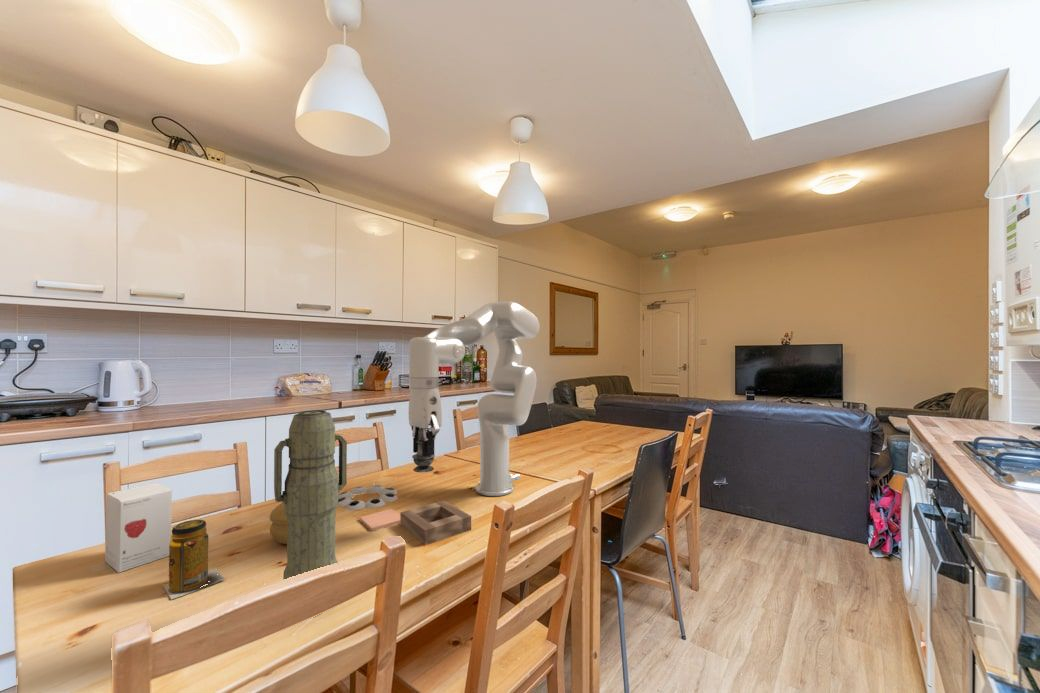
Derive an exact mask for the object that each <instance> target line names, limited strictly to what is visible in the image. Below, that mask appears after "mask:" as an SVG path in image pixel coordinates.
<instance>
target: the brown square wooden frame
mask: <svg viewBox="0 0 1040 693" xmlns="http://www.w3.org/2000/svg"><path fill="white" fill-rule="evenodd" d="M399 515H400V523H399V524H400V527H402V528H403V529H404V530H405V531H406V532H408V533H409V534H411V535H412V536H413V537H415V538H416V539H417V540H418V541H419V542H421V543H422V544H423V545H424V546H426V545H430V544H432V543H436V542H439V541H441V540H444V539H445V540H446V539H448V538H450V537H453V536H457V535H460V534H463V533H466V532H468V531H472V515H470V514H468V513H467V512H465V511H463V510H461V509H459V508H458V507H456V506H455V505H453V504H450V503H449V502H447V501H445V500H441V501H438V502H434V503H430V504H427V505H422V506H419V507H415V508H411V509H408V510H404V511H401V512H400V514H399Z"/></svg>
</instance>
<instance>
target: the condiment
mask: <svg viewBox="0 0 1040 693" xmlns="http://www.w3.org/2000/svg"><path fill="white" fill-rule="evenodd" d="M168 566H169V567H168V583H166V584H162V585H163V587H164V590H165V591H166V593H167V596H168V597H169V598H170V600H173V599H177V598H179V597H182V596H185V595H188V594H192V593H194V592H197V591H199V590H201V589H203V588H205V587H207V588H208V587H209V586H212V585H215V584H218V583H220V582H223V581H225V580H226V578H224V576H223V575H222V574H221V573H220V572H219V571H218V569H217V568H216V567H212V568H210V569H209V533H207V522H206V520H203V519H191V520H186V521H183V522H179V523H177V524H176V525H174V526H173V527H172V528H171V542H170V545H169V556H168ZM217 574H218V575H217ZM208 581H210V582H208ZM205 584H208V585H206V586H203V585H205ZM201 586H203V587H201ZM200 587H201V588H200Z"/></svg>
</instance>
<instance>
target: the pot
mask: <svg viewBox="0 0 1040 693" xmlns="http://www.w3.org/2000/svg"><path fill="white" fill-rule="evenodd" d="M269 521H271V524H270V526H269V534H270V535H271V537H272V538H273V539H274V540H275V541H276V542H277V543H280V544H284V545H287V516H286V514H285V512H284V503H283V502H280V503H279V504H278V505H277V506H275V508H273V510H272V511H271V512H270V514H269Z"/></svg>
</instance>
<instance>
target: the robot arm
mask: <svg viewBox="0 0 1040 693" xmlns="http://www.w3.org/2000/svg"><path fill="white" fill-rule="evenodd" d="M540 327H541V326H540V322H539V319H538V318H537V316H536V315H535V314H534V313H533V312H532V311H530V310H528V309H527V308H526V307H524V306H523V305H521V304H519V303H517V302H516V301H511V300H509V301H507V300H506V301H493V302H488V303H485V304H484V305H482V306H481V307H479V308H478V309H476V310H474V311H473V312H472V313H470V314H469V315H467V316H466V317H464V318H462V319H458V320H456V321H453V322H450V323H447V324H445V325H443V326H440V327H438V328H436V329H434V330H432V331H430V333H428V334H426V335H425V336H422V337H420V336H418V337H416V336H415V337H413V338H411V339H410V340H409V352H408V353H409V358H408V359H409V362H408V363H409V368H408V370H409V372H408V373H409V375H408V379H409V381H408V384H409V385H408V386H409V389H408V390H409V391H410V392H409V398H408V424H409V426H410V427H411V431H412V440H413V442H412V443H413V444H412V446H413V447H412V448H413V449H412V451H413V453H414V454H417V451H418V443H417V441H418V430H419V429H420V428H422V429H423V435H424V441H422V455H423V456H430V455H435V440H436V437H437V434H439V432H440V431H441V429H440V427H442V426H443V425H442V422H443V421H442V420H443V419H442V418H443V416H442V403H441V402H442V401H441V393H440V389H439V375H440V374H439V373H440V372H439V367H440V366H439V365H455V364H457V363H460V362H461V361H462V360H463V358H464V357H465V354H466V347H465V346H470V345H473V344H477V343H480V342H481V341H483V340H484V339H485V338H486V337H488V336H489V335H490V334H492V333H494V336H495V339H496V341H497V345H498V355H497V359H496V361H495V365H494V369H493V372H492V375H491V378H490V386H491V389H493V390H494V392H496V394H495V393H489V394H485V395H484V396H482V397H481V398H480V399H479V400H478V403H477V408H476V409H477V411H476V412H477V416H478V422H479V432H480V438H479V439H480V444H479V445H480V446H479V447H480V449H479V450H480V451H479V452H480V454H479V455H480V456H479V458H480V461H479V462H480V463H479V464H480V466H479V470H480V471H479V472H480V473H479V476H480V479H479V483H477V484H476V485H475V488H474V489H475V492H476V493H477V494H479V495H481V496H487V497H500V496H506V495H509V494H510V493H512V492H513V491H514V485H513V482H514V481H518V480H520V479H521V474H519V473H515V474H512V473H510V434H509V431H508V429H507V427H506V425H507V426H513V427H515V426H516V427H518V426H519V427H520V426H523V425H524V424H525V423H526V422H527V420H528V417H529V416H530V412H531V408H532V405H533V401H534V396H535V393H536V389H537V384H538V382H537V380H538V378H537V374H536V371H535V370H534V369H533V368H532V367H531V366H527V365H522V362H523V356H524V355H523V351H522V349H521V347H520V346H519V344H518V342H517V340H529V339H530V340H532V339H534V338H536V336H538V335H539V332H540ZM497 392H498V393H503V394H497ZM510 394H513V395H510ZM427 430H429V433H428V434H427Z"/></svg>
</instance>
